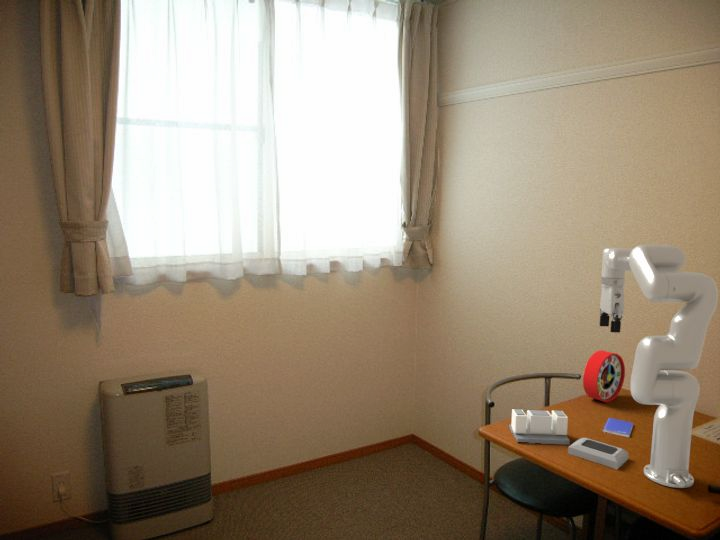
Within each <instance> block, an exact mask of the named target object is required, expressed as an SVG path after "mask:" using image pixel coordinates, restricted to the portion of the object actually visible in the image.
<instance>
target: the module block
mask: <svg viewBox="0 0 720 540" xmlns="http://www.w3.org/2000/svg"><path fill="white" fill-rule="evenodd" d="M551 415H552V413H550V411H548V410H536V409H533V410H532V409H530V410H529V409H527V411H526V416H527V421H526V427H527V429H528V430H529V432H530V433H547V434H551V429H552V416H551Z"/></svg>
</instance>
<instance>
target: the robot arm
mask: <svg viewBox="0 0 720 540" xmlns="http://www.w3.org/2000/svg"><path fill="white" fill-rule="evenodd" d="M686 261H687V257H686V253H685V252H684V251H683V250H682V249H681V248H680V247H677V246H675V245H671V244H639V245H637V246H635V247H633V248H623V247H605V248H604V249H603V251H602V263H601V266H602V267H601V276H600V277H601V279H600V282H601V283H600V286H601V293H600V302H599V310H600V312H599V315H600V316H599V327H609V325H610V331H609V332H610V333H616V334H617V333H621V325H622V318H623V315H625V314H624V313H625V290H624V287H625V279H626V278H625V277H626V272H627V271H629V272H632V275H633V276H634V278H635V281H636V282H637V285H638V287H639V288H640V290H641V292H642V294H643V296H644V297H645V298H646V299H648V300H649V301H651V302H653V303H685V304H684V306H683V307H681V308H680V309H679V310H678V311H677V312H676V314H675V313H674V314H675V315H673V317H672V319H671V321H670V327H669V331H668V333H667V334H666V335H647V336H644V337H643V338H642V339H641V340H640V341H639V343H637V346H636V349H635V352H634V353H635V354H634V360H633V364H632V371H631V375H630V384H629V390H630V395H631V397H632V398H633V400H634V401H636V402H637V403H639V404H641V405H650V406H651V405H652V406H654V405H656V406H657V408H656V410H655V413H654V416H653V422H652V423H653V425H652V437H651V448H650V449H651V451H650V462H649V463H650V464H645V466H644V467H643V474H644V476H646V477H647V478H648V479H649V480H651V481H652V482H655V483H657V484H659V485H662V486H666V487H670V488H675V489H676V488H677V489H686V488H690V487H692V486H693V485H694V484H695V483H694V482H695V479H694V476H693V475H692V474H691V473H689V467H690V466H689V465H690V455H691V454H690V452H691V443H692V442H691V441H692V431H693V421H694V413H695V409H696V405H697V404H698V403H697V402H698V400H699V396H700V391H701V389H700V383H699V381H698V379H697V378H696V377H695V376H694V375H693V374H691V373H689V372H687V371H691V370H694V369H696V368H697V367H698V365H699V363H700V362H701V357H702V354H703V353H702V352H703V349H704V345H705V340H706V336H707V330H708V327H709V324H710V322H711V320H712V317H713V315H714V313H715V311H716V309H717V305H718V303H719V302H718V301H719V290H718V286H717V283H716V281H715V280H714V278H713V277H712V276H710V275H708V274H706V273H701V272H696V271H695V272H694V271H680V270H682V268H683V267H685V265H686ZM610 317H611V321H610Z"/></svg>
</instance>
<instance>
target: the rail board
mask: <svg viewBox="0 0 720 540" xmlns="http://www.w3.org/2000/svg"><path fill="white" fill-rule="evenodd" d="M551 416H552V429H551V434H547V433H530V432H529V430H528V429H527V427H526V423H527V413H525V412H524V410H523V409H517V408H516V409H513V408H512V409H511V423H509V425H508V428H510V429H509V430H511V431H510V432H511V434H512V433H513V434H512V436H513V435H514V436H513V438H514V437H515V438H516V440H517V441H519V442H529V443H528V444H535V443H541V444H542V445H543V444H544V445H546V444H547V445H564V446H565V445H566V446H568V445H569V446H570V445H571V444H570V441H571V440H570V438H569V437H568V436H567V434H568V422H569V420H568V419H569V418H568V415H567V414H565V413H564V411H563V410H551ZM515 438H514V439H515ZM516 440H515V441H516ZM541 444H540V445H541Z"/></svg>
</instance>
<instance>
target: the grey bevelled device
mask: <svg viewBox="0 0 720 540" xmlns="http://www.w3.org/2000/svg"><path fill="white" fill-rule="evenodd" d="M567 454H569V455H571V456H573V457H574V456H575V457H577V458H581V459H583V458H584V460H588V461H589V462H594V463H596V464H599V465H602V466H605V467H608V468H610V469H611V468H612V469H614V470H618V469H620V467H622V466H623V465H624V464H625V463H626V462H627V461H628V460H629V452H628V451H627V450H625V449H624V448H622V447H617V446H614V445H611V444H607V443H606V442H605V443H604V442H601V441H597V440H594V439H591V438H588V437H580V438H578V439H577V440H575V442H573V443H572V444H570V445H569V446H568V447H567Z"/></svg>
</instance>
